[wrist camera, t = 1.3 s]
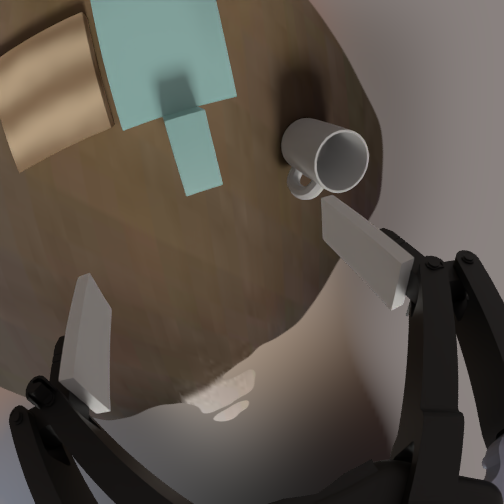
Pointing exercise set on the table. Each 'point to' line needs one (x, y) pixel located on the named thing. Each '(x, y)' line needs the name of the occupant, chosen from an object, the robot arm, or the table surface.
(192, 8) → the lid
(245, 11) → the table surface
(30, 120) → the wooden block
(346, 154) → the cup
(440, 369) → the robot arm
